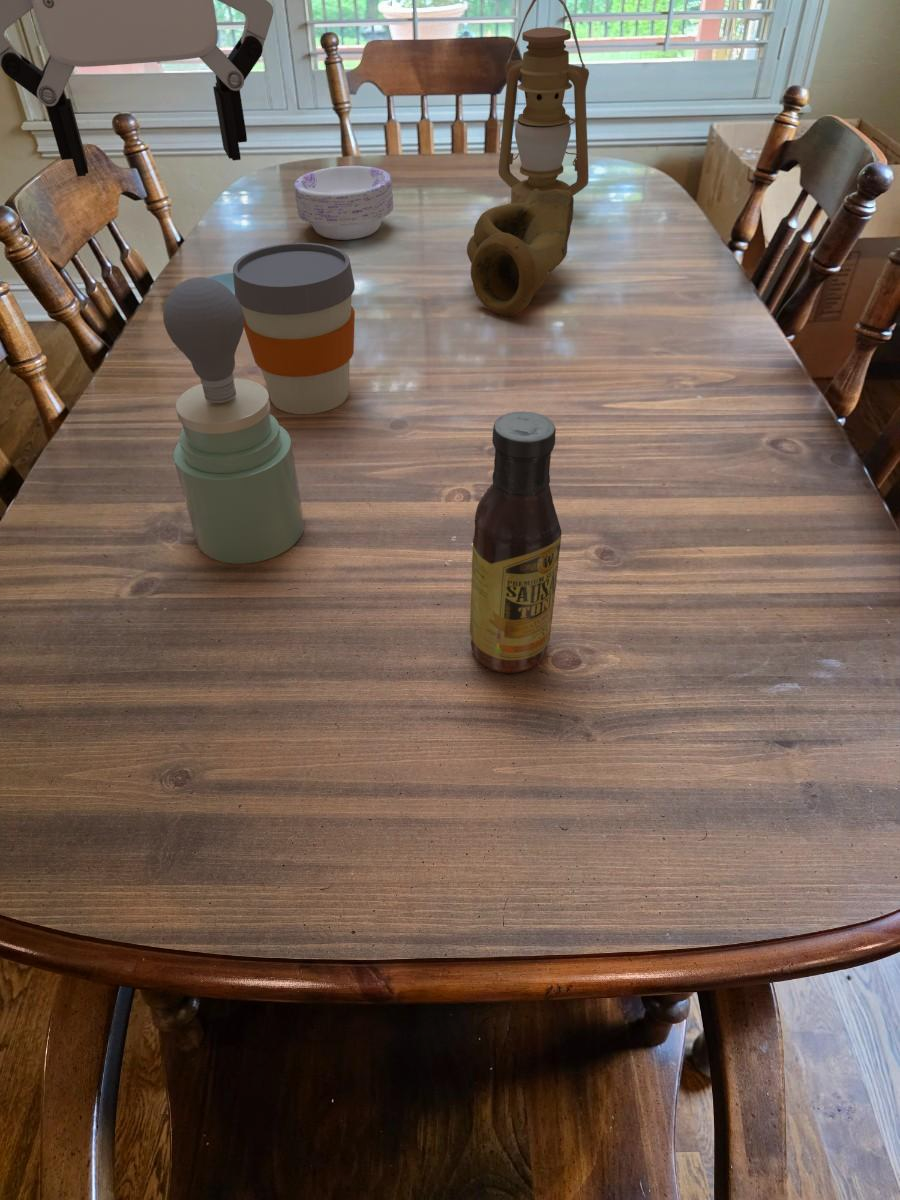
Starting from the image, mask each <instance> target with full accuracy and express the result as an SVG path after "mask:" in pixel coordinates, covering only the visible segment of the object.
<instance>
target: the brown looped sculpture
mask: <svg viewBox="0 0 900 1200" xmlns="http://www.w3.org/2000/svg"><path fill="white" fill-rule="evenodd" d="M573 218H574V196H573V195H572V193H571V192H570V191H568V190H566V191H563V190H560V189H553V190H550V191H540V190H539V189H537V188H536V189H534V190H533V191H532V192H531V193H530V194H528V195H527V196H525V197H523V198H521V199H519V200H518V201H517V202H516V203H512V204H510V203H507V204H502V205H497V206H494V207H492V208H489V209H487V210H485V211H484V212H483V213H482V214H481V215H480V216H479V218H478V219H477V221H476V223H475V226H474V229H473V235H472V236H471V237H470V238H469V240H468V242H467V246H466V254H467V256H468V260H469V261H470V264H471V265H470V279H471V282H472V287H473V289H474V292H475V294H476V296H477V298H478V299H479V301H480V302H481V304H483V306H484V307H485V308H486V309H488V310H489V311H490V312H492V313H493V314H494V313H495V314H497V315H500V316H505V317H507V316H513V315H517V314H518V313H520V312H522V311H523V310H525V309H526V308H527V307H528V305H530V302H532V300H533V297H534V295H535V293H537V292H538V291H539V290H540V289H541V287H542V286H543V285H544V283H545V281H546V279H547V277H548V274H549V273H551V272H552V271H554V270H555V269H556V268H557V267H558V266H559V265H561V263H562V262H563V261H564V259H565V258H566V256H567V254H568V241H569V238H570V234H571V229H572V228H571V227H572V223H573Z"/></svg>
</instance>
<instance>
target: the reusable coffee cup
mask: <svg viewBox="0 0 900 1200" xmlns="http://www.w3.org/2000/svg"><path fill="white" fill-rule="evenodd" d="M350 259H351V258H350V257H349V255H348V254H347V253H346V252H345V251H343V250H342V249H340V248H338V247H335V246H332V245H327V244H324V243H323V244H322V243H316V242H315V243H314V242H288V243H280V244H274V245H267V246H264V247H261V248H258V249H256V250H252V251H250V252H248V253H246V254H244V255H242V256H241V257H240V258H238V259H237V260H236V261H235V263H234V264H233V267H232V273H233V276H234V289H235V297H236V298H237V299H238V301H239V303H240V304H241V307H242V310H243V313H244V314H243V315H244V328H243V330H244V332H245V336H246V339H247V342H248V345H249V348H250V350H251V354H252V357H253V360H254V363H255V364H256V366H257V367H258V368H260V370H261V372H262V373H261V374H262V376H263V379H264V382H265V385H266V389H267V391H268V393H269V399H270V402H271V403H272V404H273V406H274V407H275V408H276V409H278V410H280V411H282V412H285V413H289V414H293V415H294V414H295V415H314V414H320V413H321V414H322V413H324V412H328V411H331V410H334V409H336V408H337V407H339V406H341V405H342V404H343V403H345V401H346V400H347V399H348V398H349V394H350V366H351V365H350V363H351V362H350V361H351V359H352V358H353V356H354V354H355V353H354V349H355V320H356V318H355V317H356V312H355V309H354V306H352V295H353V293H354V291H355V290H356V289H355V285H356V284H355V279H354V275H353V269H352V265H351V260H350Z"/></svg>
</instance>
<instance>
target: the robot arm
mask: <svg viewBox="0 0 900 1200" xmlns="http://www.w3.org/2000/svg"><path fill="white" fill-rule="evenodd" d="M217 1H218V2H219V3H222V4H224V5H226V6H228V7H229V8H232V9H233V10H236V11H237V12H240V13H241V14H243V16H244V19H245V21H244V26H243V31H242V34H241V36H240V38H239V39H238V41H237V43H236V44H235V45H234V47H233V48H232V50H231V51H230V53H229V55H228V56H227V55H226V54H225V52H223V51H222V50H221V49H220V47H219V46H218V40H219V34H218V33H219V32H218V31H219V30H218V22H217V17H216V9H215V3H214V0H0V67H1V69H2V72H4V74H6V76H8V77H9V78H10V79H11V80H13V81H14V82H16V83H17V84H18V85H20V86H21V87H22V88H23V89H25V90H26V91H28V92H29V93H30V94H32V95H33V96H34V97H36V98H37V99H38V101H39V102H40V103H41V104H42V105H44V106H45V107H46V111H47V114H48V118H49V121H50V125H51V128H52V133H53V135H54V140H55V142H56V146H57V150H58V153H59V155H60V156H59V157H60V160H61V161H66V160H68V161H69V160H72V163H73V167H74V170H75V174H76V176H77V177H78V178H79V177H86V176H87V174H89V166H88V160H87V156H86V152H85V149H84V145H83V141H82V137H81V133H80V130H79V126H78V121H77V119H76V114H75V111H74V107H73V103H72V100H71V98H68V97H67V94H66V92H65V88H66V86H67V84H68V82H69V80H70V78H71V76H72V74H73V71H74V70H75V68H76V67H79V68H88V67H89V68H90V67H91V68H92V67H106V66H120V65H135V64H147V63H161V62H174V61H182V60H183V61H184V60H185V61H186V60H192V59H197V58H199V59H200V60H201V61H202V62H203V63H204V64H205V65H206V67H208V68H209V70H211V72H213V73H214V75H215V76H214V77H215V81H216V82H215V83H214V84H215V86H212V89H213V94H214V100H215V106H216V112H217V119H218V125H219V130H220V136H221V143H222V148H223V149H224V152H225V154H226V155H227V157H228V159H229V160H230V159H231V160H232V161H234V162H235V161H241V160H242V159H241V158H242V157H241V151H240V143H247V142H248V136H247V129H246V123H245V116H244V110H243V102H242V97H241V90H242V88H243V87H244V85H245V80H246V79H247V77H248V76H249V74H250V73H251V71H252V70H253V69H254V67H255V66H256V65H257V63H258V61H259V60H260V58H261V57H262V54H263V49H264V48H263V47H264V44H265V41H266V40H267V36H268V34H269V33H268V32H269V29H270V26H271V23H272V20H273V16H274V7H273V4H271V2H269V1H268V0H217ZM32 10H33V13H34V17H35V19H36V23H37V27H38V30H39V33H40V36H41V39H42V42H43V44H44V47H45V49H46V51H47V53H48V57H47V59H46V61H45V64H44V65H43V68H42V69H40V68H39V67H38V66H36V65H35V64H34V63H32V61H30V60H29V59H28V58H26V57H25V56H24V55H23V54H21V53H20V52H19V51H18V50H17V49H16V48H15V46H14V45H13V44H12V42H11V41H10V40H9V39H8V37H7V35H6V34H7V33H6V30H7V29H8V28H10V27H11V26H12V25H14V23H16V22H17V21H18V20H20V19H21V18H22V17H24V16H25V15H26V14H27V13H29V12H30V11H32Z"/></svg>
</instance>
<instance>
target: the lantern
mask: <svg viewBox="0 0 900 1200" xmlns="http://www.w3.org/2000/svg"><path fill="white" fill-rule="evenodd" d="M558 1H559V3H560V4H561V5H562V6H563V9H564V11H565V13H566V15H567V18H568V21H569V24H570V29H571V30H569V29H566V28H562V27H553V26H552V27H549V26H548V27H547V26H544V27H536V28H531V29H528V30H525V31H523V32H522V30H523V28H524V25H525V22H526V20H527V17H528V15H529V13H530V12H531V10H532V8H533V6H534V5H535V3H536V2H537V0H532V1H531V3H530V5H529V7H528V9H527V10H526V12H525V15H524V16H523V17H524V18H523V20H522V22H521V26H520V28H519V32H518V34H517V37H516V40H515V42H514V44H513V47H512V49H511V51H510V55H509V58H508V60H507V62H505V63H504V73H505V81H506V85H505V87H506V88H505V97H504V107H503V109H504V110H503V119H502V129H501V139H500V147H499V148H500V150H499V160H498V175H499V177H500V179H501V180H502V181H503V182H504V183H505V184H506V185H507V186H508V187H509V188H510V193H511V194H510V203H509V204H512V203H516V202H517V201H518V200H519V199H521V198H523V197H525V196H527V195H528V194H530V193H531V192H532V191H533V190H534V189H536V188H537V189H539V190H540V191H550V190H553V189H560V190H563V191H566V190H568V191H570V192H571V193H572V195H573V197H574V196H575V195H576V194H578V193H579V192H581V191H582V190H584V189H585V188H586V187H587V186H588V184H589V155H588V154H589V153H588V152H589V150H588V149H589V148H588V146H589V145H588V123H587V122H588V121H587V97H586V95H587V93H586V91H587V84H588V80H589V76H590V71H589V69H588V68H586V65H585V63H584V62H583V58H582V53H581V51H580V45H579V41H578V37H577V33H576V29H575V26H574V23H573V20H572V17H571V13H570V11H569V9H568V7H567V5H566V3H565V1H564V0H558ZM520 36H522V37H521V39H522V41H523V42H526V43H527V42H528V43H527V46H525V48H526V49H527V50H526V51H524V52H523V53H522V60H513V59H512V56H513V54H514V51H515V49H516V47H517V44H518V41H519V39H520ZM572 36H573V39H574V43H575V46H576V51H577V53H578V57H579V61H580V63H581V66H580V65H575V64H570V57H569V56H570V52H569V51H568V50H566V49H565V48H566V47H567V45H566V44H565V42H566V41H568V40H570V39H571V38H572ZM520 77H521V81H520V83H519V79H520ZM571 88H573V92H574V93H573V95H574V97H573V98H574V99H573V100H574V118H572V117H571V116H570V115H569V114H567V113H566V108H565V107H564V105H563V103H564V99H565V93H566V91H567V90H570V89H571ZM518 90H520V91H522V92H524V98H525V105H526V106H524V108H523V110H522V113H519V114H518V117H517V122H516V124H515V115H516V114H515V113H516V105H517V96H518V95H517V94H518ZM570 121H572V122H570ZM573 124H575V127H574V128H575V152H568V151H567V148H568V145H569V142H570V138H571V133H572V126H571V125H573ZM514 125H515V127H514ZM513 134H514V136H513ZM513 137H514V138H515V142H516V146H517V151H518V154H516V156H515V157H514V153H513V152H512V147H513V145H512V144H513ZM566 154H567V155H575V158H574V159H573V161H572V166H573V167H574V171H575V172H576V181H575V182H573V183H572V184H570V185H569V184H568V183H567V182H565V181H563V180H559V179H557V178H558V177H559V176H560V175H561V174H563V173H564V165H563V162H564V158H565V155H566ZM518 157H519V160H520V164H521V166H520V167H519V173H520V174H521V175H522V176H525V177H527V179H523V180H520V179H518V178H517V177H516V176H515V175H514V174H513V173H512V172H511V168H510V165H513V163H514V160H516V159H518Z"/></svg>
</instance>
